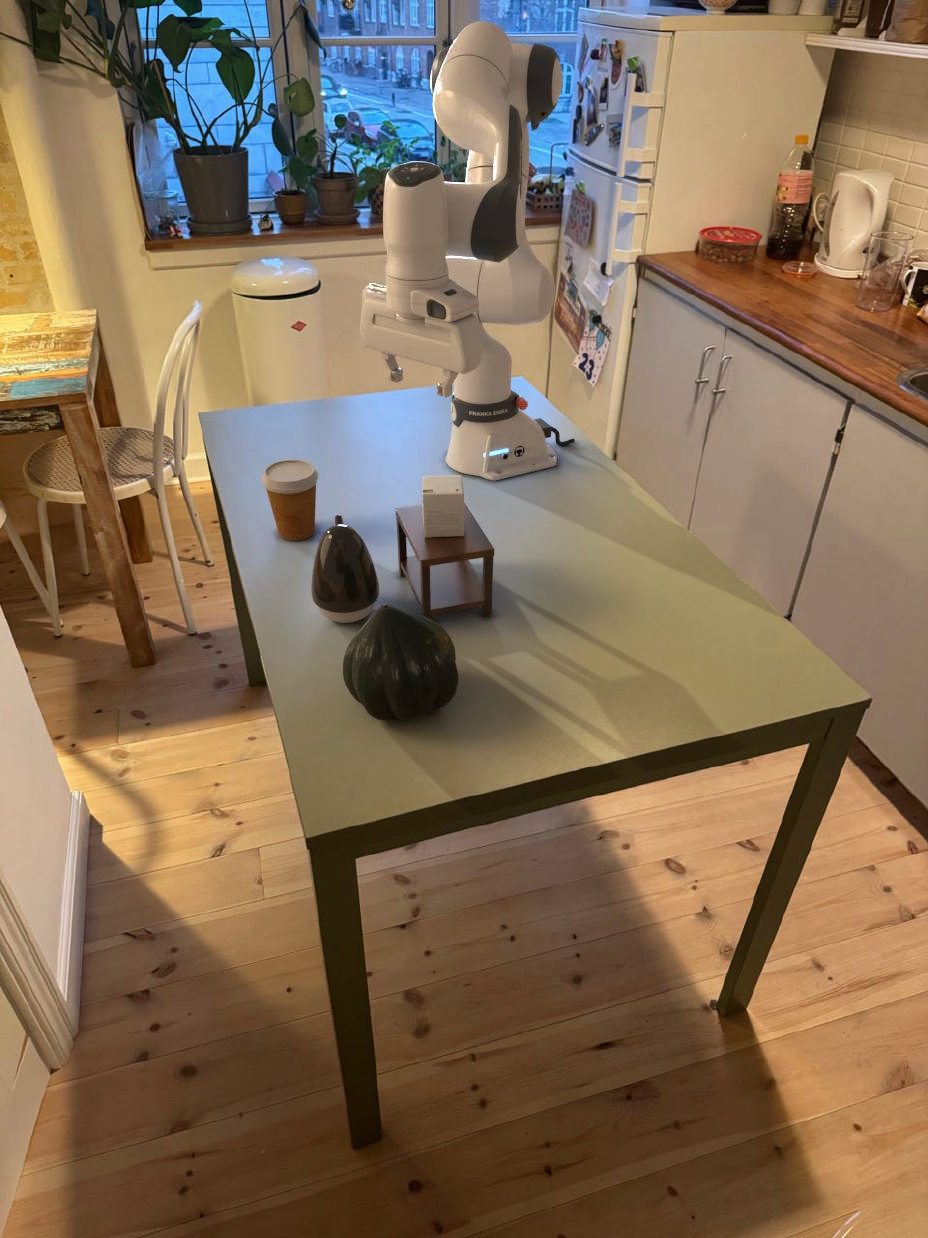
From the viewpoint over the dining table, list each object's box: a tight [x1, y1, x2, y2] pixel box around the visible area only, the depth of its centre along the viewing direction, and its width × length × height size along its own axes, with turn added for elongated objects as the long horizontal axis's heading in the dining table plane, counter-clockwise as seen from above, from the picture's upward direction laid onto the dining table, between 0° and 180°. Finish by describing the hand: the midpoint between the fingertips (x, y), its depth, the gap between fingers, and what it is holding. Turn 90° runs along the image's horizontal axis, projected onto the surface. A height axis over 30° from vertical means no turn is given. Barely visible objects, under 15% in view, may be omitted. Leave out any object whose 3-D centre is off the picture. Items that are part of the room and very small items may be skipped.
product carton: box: [421, 474, 465, 538], centre depth 131 cm, size 6×6×7 cm
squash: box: [342, 603, 459, 721], centre depth 116 cm, size 14×15×15 cm
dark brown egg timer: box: [310, 514, 381, 624], centre depth 131 cm, size 10×10×15 cm
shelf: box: [394, 501, 495, 620], centre depth 136 cm, size 11×16×12 cm
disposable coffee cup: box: [261, 458, 319, 542], centre depth 152 cm, size 10×10×12 cm
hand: (419, 387), depth 132 cm, fingers open, 8 cm apart
